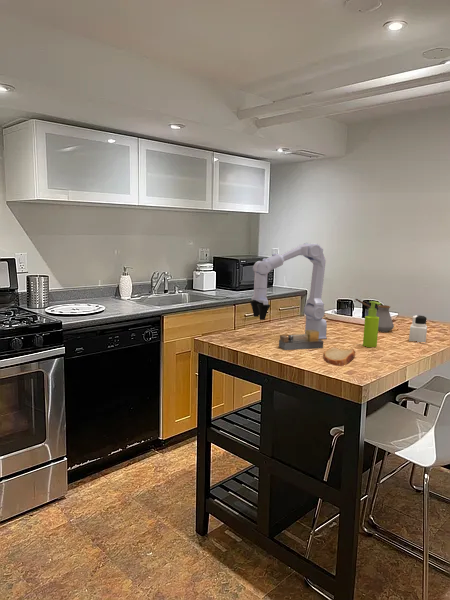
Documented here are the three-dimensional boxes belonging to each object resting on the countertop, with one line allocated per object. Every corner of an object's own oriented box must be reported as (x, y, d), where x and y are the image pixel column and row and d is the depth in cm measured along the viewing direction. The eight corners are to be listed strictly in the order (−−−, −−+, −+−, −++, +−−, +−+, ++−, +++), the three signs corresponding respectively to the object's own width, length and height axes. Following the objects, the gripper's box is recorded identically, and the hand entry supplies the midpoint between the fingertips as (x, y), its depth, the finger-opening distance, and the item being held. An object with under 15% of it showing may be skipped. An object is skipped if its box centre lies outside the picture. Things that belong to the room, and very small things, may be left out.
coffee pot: (396, 330, 243) (399, 302, 241) (389, 334, 234) (391, 304, 231) (356, 324, 255) (358, 297, 253) (348, 327, 246) (350, 299, 244)
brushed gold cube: (313, 338, 205) (314, 329, 205) (318, 341, 201) (319, 331, 201) (305, 338, 204) (305, 329, 204) (310, 341, 200) (310, 332, 199)
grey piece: (316, 344, 207) (317, 333, 206) (323, 348, 202) (323, 336, 201) (278, 346, 202) (279, 335, 201) (284, 349, 196) (285, 338, 195)
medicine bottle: (425, 340, 223) (428, 315, 221) (425, 343, 216) (427, 317, 214) (409, 338, 226) (412, 313, 224) (408, 341, 219) (411, 316, 217)
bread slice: (336, 367, 174) (336, 358, 174) (308, 355, 191) (309, 346, 190) (374, 363, 182) (375, 354, 181) (344, 351, 198) (345, 343, 197)
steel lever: (305, 338, 203) (305, 334, 203) (307, 340, 201) (308, 335, 201) (287, 339, 200) (287, 334, 200) (289, 340, 198) (289, 336, 198)
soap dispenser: (371, 348, 203) (375, 303, 200) (359, 345, 209) (363, 300, 206) (381, 347, 206) (385, 302, 203) (369, 343, 212) (373, 300, 209)
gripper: (246, 286, 214) (245, 315, 217) (258, 290, 201) (256, 321, 203) (260, 286, 217) (259, 314, 219) (273, 290, 203) (271, 321, 205)
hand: (259, 318), depth 211 cm, fingers open, 7 cm apart
